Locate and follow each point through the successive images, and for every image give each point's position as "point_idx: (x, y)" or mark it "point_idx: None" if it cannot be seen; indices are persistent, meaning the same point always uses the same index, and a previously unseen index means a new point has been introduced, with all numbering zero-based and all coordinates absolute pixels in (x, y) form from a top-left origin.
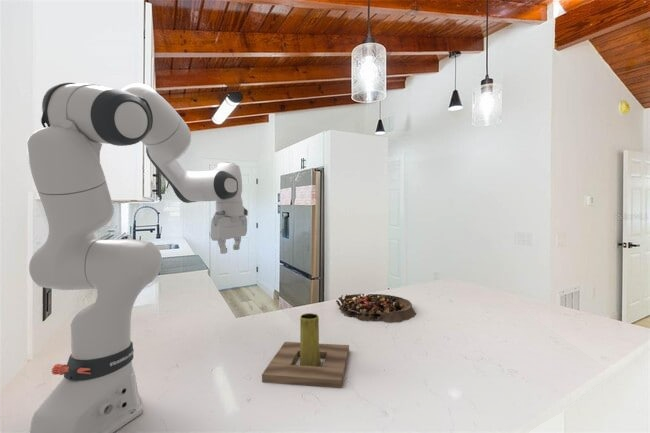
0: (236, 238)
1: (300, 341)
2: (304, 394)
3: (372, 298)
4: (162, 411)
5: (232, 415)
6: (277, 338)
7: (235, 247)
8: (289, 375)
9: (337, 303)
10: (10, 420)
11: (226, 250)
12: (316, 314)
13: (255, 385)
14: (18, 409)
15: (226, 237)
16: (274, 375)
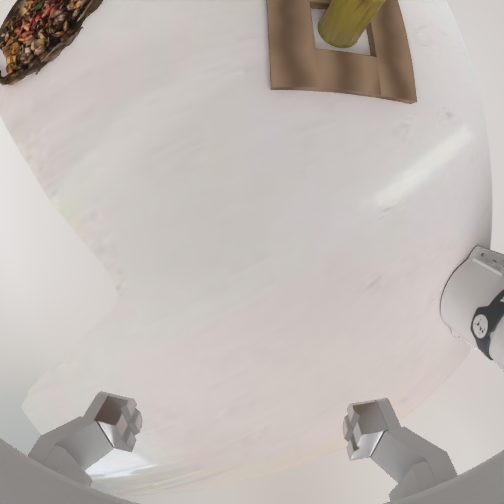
0: (77, 476)
1: (358, 26)
2: (420, 42)
3: (31, 11)
4: (474, 223)
5: (473, 129)
6: (219, 124)
7: (128, 424)
8: (408, 57)
9: (42, 59)
10: (460, 362)
11: (372, 415)
12: None
13: (420, 112)
14: (446, 373)
15: (473, 486)
16: (414, 80)
